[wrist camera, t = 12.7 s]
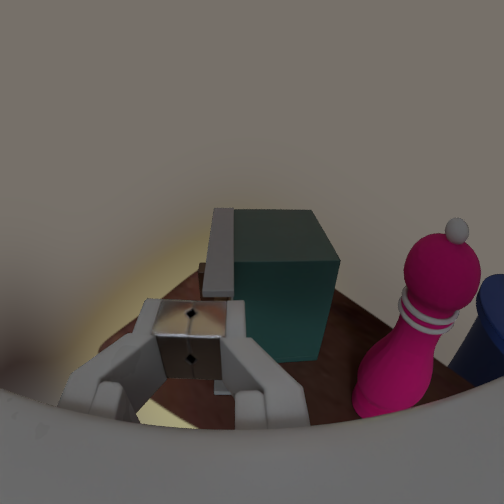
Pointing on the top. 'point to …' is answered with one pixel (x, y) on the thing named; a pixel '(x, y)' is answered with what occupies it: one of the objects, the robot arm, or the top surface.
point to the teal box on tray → (273, 278)
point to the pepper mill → (418, 322)
